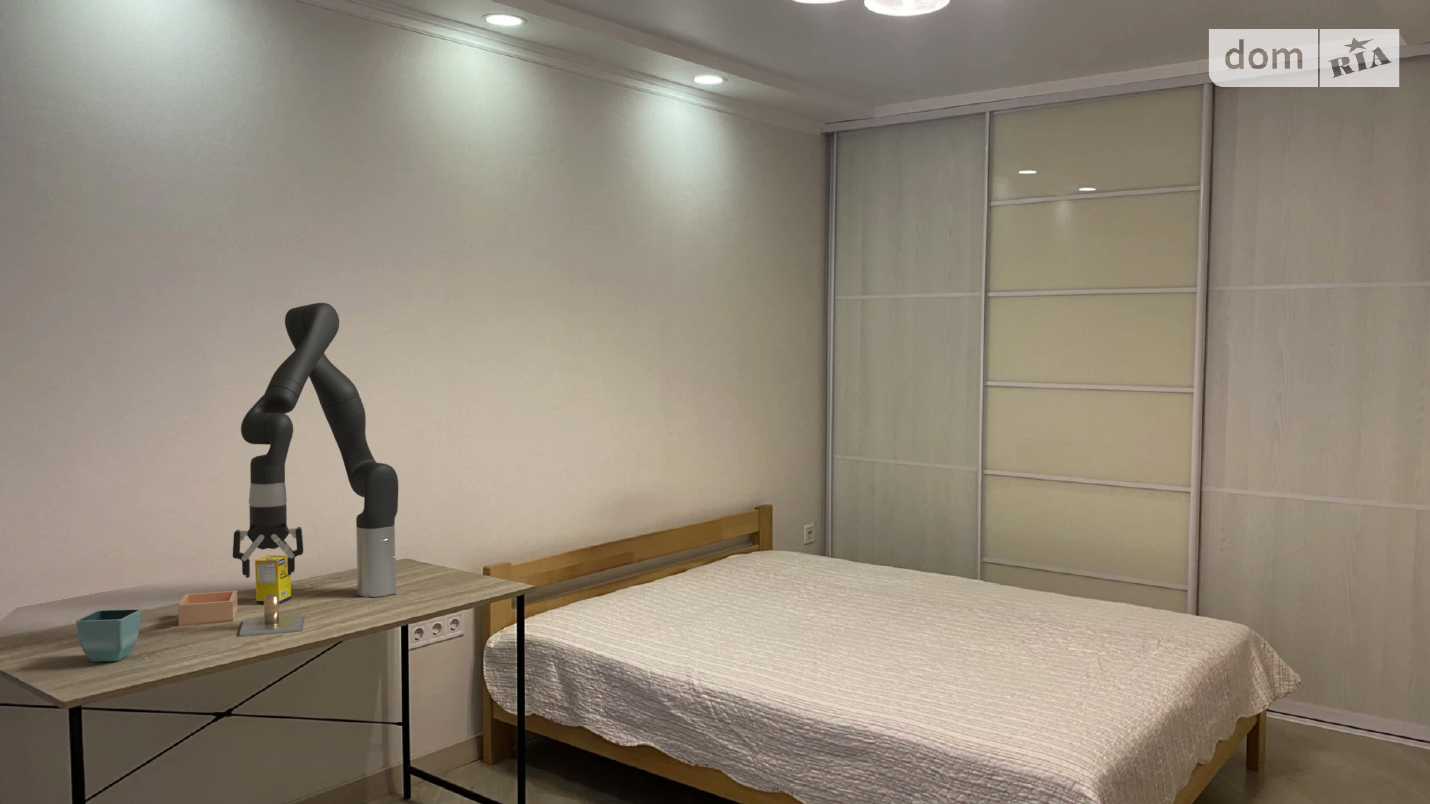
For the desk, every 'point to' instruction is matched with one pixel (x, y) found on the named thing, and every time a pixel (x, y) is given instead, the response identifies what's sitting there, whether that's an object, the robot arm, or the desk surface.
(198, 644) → the desk surface
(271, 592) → the supplement box
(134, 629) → the flower pot
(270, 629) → the lid
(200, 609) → the open box
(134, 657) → the desk surface
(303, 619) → the mat
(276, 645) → the desk surface
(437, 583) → the desk surface
